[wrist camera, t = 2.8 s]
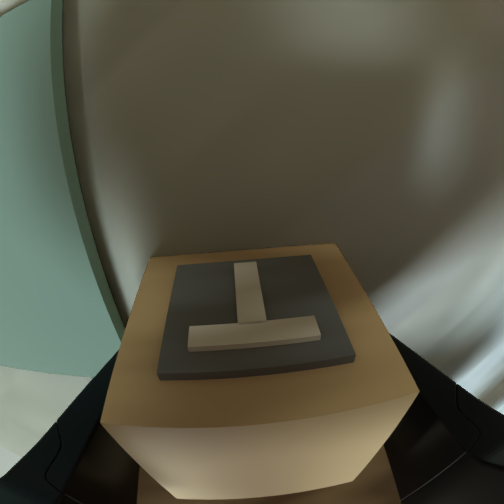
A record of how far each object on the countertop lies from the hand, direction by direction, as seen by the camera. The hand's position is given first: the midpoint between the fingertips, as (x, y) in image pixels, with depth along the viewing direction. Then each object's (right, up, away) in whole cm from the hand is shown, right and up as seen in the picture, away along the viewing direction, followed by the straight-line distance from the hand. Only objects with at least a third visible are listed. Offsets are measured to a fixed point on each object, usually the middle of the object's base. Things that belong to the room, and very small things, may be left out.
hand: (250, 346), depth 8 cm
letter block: (0, +1, +1) cm, 1 cm away
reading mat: (-10, +3, -2) cm, 11 cm away
